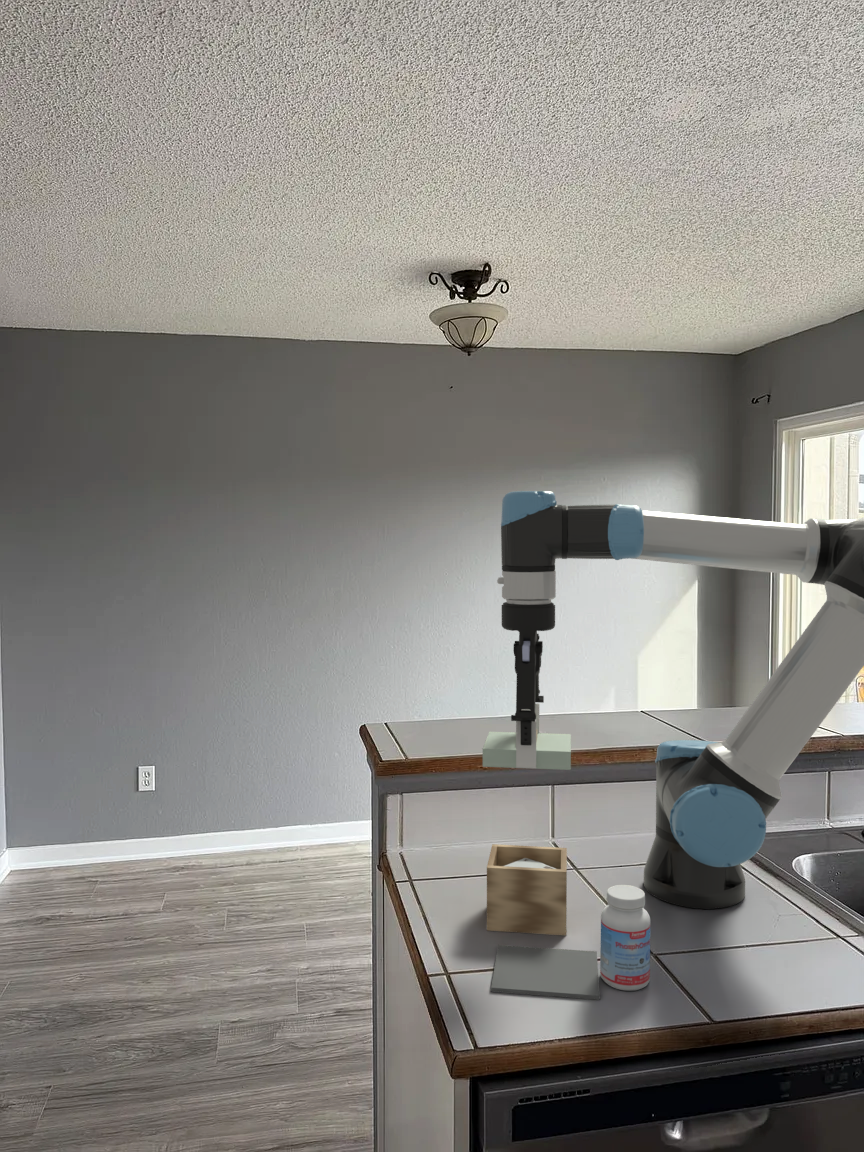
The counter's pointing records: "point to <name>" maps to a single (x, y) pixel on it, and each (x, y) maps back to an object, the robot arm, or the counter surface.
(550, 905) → the box
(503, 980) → the mat
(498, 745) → the lid
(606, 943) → the pill bottle
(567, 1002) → the counter surface
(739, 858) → the robot arm
